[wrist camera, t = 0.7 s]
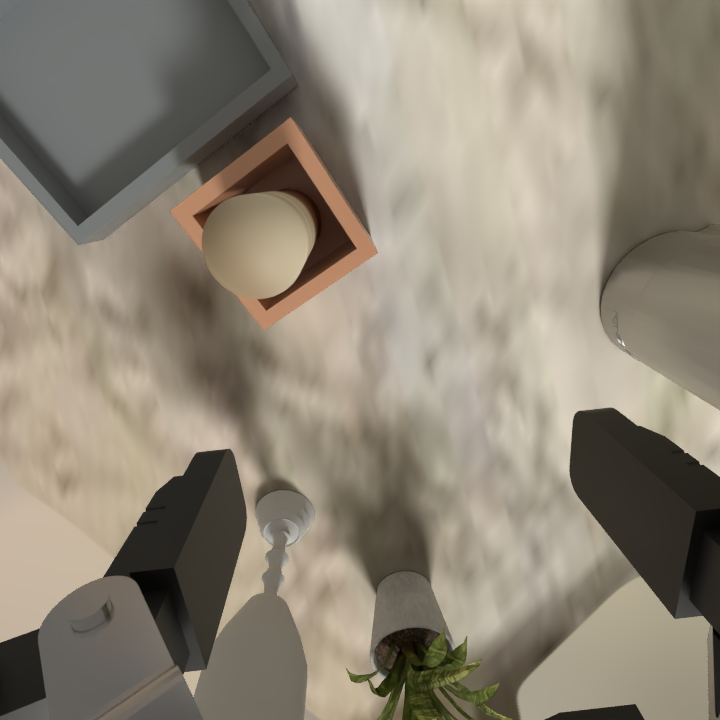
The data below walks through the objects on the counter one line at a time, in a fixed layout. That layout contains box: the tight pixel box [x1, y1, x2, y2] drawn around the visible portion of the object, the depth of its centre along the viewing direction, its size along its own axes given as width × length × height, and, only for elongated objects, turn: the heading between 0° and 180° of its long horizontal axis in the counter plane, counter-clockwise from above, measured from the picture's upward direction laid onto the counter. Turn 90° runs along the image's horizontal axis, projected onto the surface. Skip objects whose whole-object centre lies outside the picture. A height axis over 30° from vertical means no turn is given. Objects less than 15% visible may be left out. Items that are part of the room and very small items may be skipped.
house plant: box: [346, 571, 512, 720], centre depth 35 cm, size 14×14×16 cm
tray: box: [0, 0, 298, 245], centre depth 25 cm, size 16×12×3 cm
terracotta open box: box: [170, 117, 378, 330], centre depth 26 cm, size 8×8×7 cm
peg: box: [202, 189, 321, 299], centre depth 23 cm, size 4×4×12 cm
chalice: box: [193, 490, 315, 720], centre depth 30 cm, size 7×7×18 cm
